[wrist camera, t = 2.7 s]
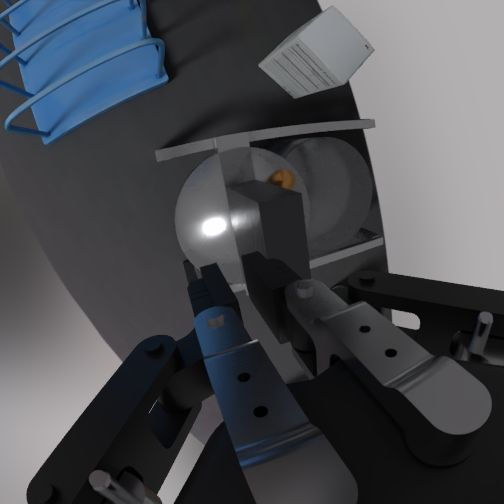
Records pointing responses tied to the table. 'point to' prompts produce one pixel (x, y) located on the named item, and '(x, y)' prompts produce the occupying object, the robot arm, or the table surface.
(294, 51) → the supplement box
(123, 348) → the table surface
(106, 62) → the file sorter
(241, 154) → the steel lid
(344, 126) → the cooker pot
